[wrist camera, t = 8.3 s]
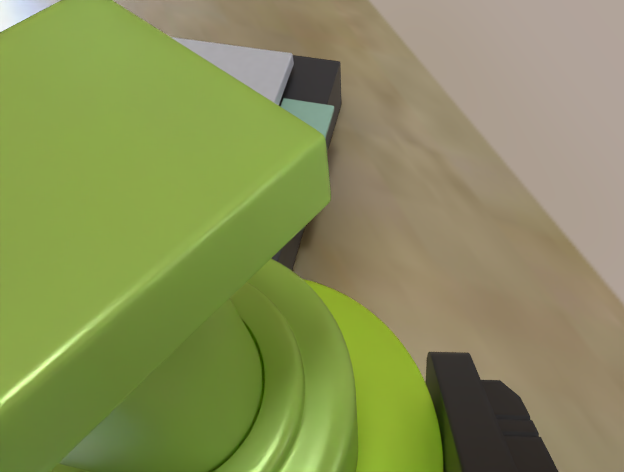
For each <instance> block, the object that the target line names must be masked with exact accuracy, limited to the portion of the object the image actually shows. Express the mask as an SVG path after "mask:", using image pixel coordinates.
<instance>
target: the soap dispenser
mask: <svg viewBox="0 0 624 472" xmlns="http://www.w3.org/2000/svg"><path fill="white" fill-rule="evenodd" d="M330 200H331V191H330V180H329V169H328V158H327V148H326V140H325V137H324V135H323V134H321V133H320V132H319V131H317V130H316V129H315V128H313V127H311V126H310V125H308V124H307V123H305V122H304V121H302V120H301V119H299V118H298V117H296V116H294V115H293V114H291V113H290V112H288V111H286V110H285V109H283V108H282V107H280V106H279V105H277V104H275V103H274V102H272V101H271V100H269V99H267V98H266V97H264V96H263V95H261V94H260V93H258V92H256V91H255V90H253V89H252V88H250V87H248V86H247V85H245V84H244V83H242V82H241V81H239V80H237V79H236V78H234V77H233V76H231V75H229V74H228V73H226V72H225V71H223V70H222V69H220V68H218V67H217V66H215V65H214V64H212V63H210V62H209V61H207V60H206V59H204V58H203V57H201V56H199V55H198V54H196V53H195V52H193V51H191V50H190V49H188V48H187V47H185V46H184V45H182V44H180V43H179V42H177V41H176V40H174V39H172V38H171V37H169V36H168V35H166V34H165V33H163V32H161V31H160V30H158V29H157V28H155V27H153V26H152V25H150V24H149V23H147V22H146V21H144V20H142V19H141V18H139V17H138V16H136V15H134V14H133V13H131V12H130V11H128V10H127V9H125V8H123V7H122V6H120V5H119V4H117V3H116V2H114V1H112V0H61V1H59V2H57V3H55V4H53V5H51V6H49V7H48V8H46V9H44V10H42V11H40V12H38V13H36V14H34V15H32V16H30V17H29V18H27V19H25V20H23V21H21V22H19V23H17V24H15V25H13V26H11V27H10V28H8V29H6V30H4V31H2V32H0V472H443V450H442V441H441V434H440V429H439V424H438V419H437V415H436V412H435V408H434V405H433V402H432V399H431V396H430V393H429V391H428V388H427V386H426V384H425V381H424V379H423V377H422V375H421V373H420V371H419V369H418V367H417V366H416V364H415V362H414V361H413V359H412V357H411V356H410V354H409V353H408V351H407V350H406V348H405V347H404V346H403V344H402V343H401V342H400V341H399V339H398V338H397V337H396V336H395V335H394V333H393V332H392V331H391V330H390V329H389V328H388V327H387V326H386V325H385V324H384V323H383V322H382V321H381V320H380V319H379V318H377V317H376V316H375V315H374V314H373V313H371V312H370V311H369V310H368V309H366V308H365V307H363V306H362V305H361V304H359V303H358V302H356V301H355V300H353V299H351V298H349V297H348V296H346V295H344V294H342V293H340V292H338V291H336V290H334V289H331V288H329V287H327V286H324V285H321V284H318V283H315V282H312V281H308V280H304V279H302V278H300V277H299V276H298V275H297V274H295V273H294V272H293V271H291V270H290V269H289V268H287V267H286V266H284V265H282V264H281V263H279V262H277V261H275V260H273V259H271V258H272V257H273V256H274V255H275V254H276V253H277V252H278V251H279V250H280V249H281V248H283V247H284V246H285V245H286V244H287V243H288V242H289V241H290V240H291V239H292V238H293V237H294V236H295V235H296V234H297V233H298V232H299V231H300V230H301V229H302V228H304V227H305V226H306V225H307V224H308V223H309V222H310V221H311V220H312V219H313V218H314V217H315V216H316V215H317V214H318V213H319V212H320V211H321V210H322V209H323V208H324V207H325V206H326V205H327V204H328V203H329V202H330Z"/></svg>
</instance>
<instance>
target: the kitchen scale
mask: <svg viewBox="0 0 624 472" xmlns="http://www.w3.org/2000/svg"><path fill="white" fill-rule="evenodd" d="M171 38H172V39H174V40H176V41H177V42H179V43H180V44H182V45H184V46H185V47H187V48H188V49H190V50H191V51H193V52H195V53H196V54H198V55H199V56H201V57H203V58H204V59H206V60H207V61H209V62H210V63H212V64H214V65H215V66H217V67H218V68H220V69H222V70H223V71H225V72H226V73H228V74H229V75H231V76H233V77H234V78H236V79H237V80H239V81H241V82H242V83H244V84H245V85H247V86H248V87H250V88H252V89H253V90H255V91H256V92H258V93H260V94H261V95H263V96H264V97H266V98H267V99H269V100H271V101H272V102H274V103H275V104H277V105H279V106H280V107H282V108H283V109H285V110H286V111H288V112H290V113H291V114H293V115H294V116H296V117H298V118H299V119H301V120H302V121H304V122H305V123H307V124H308V125H310V126H311V127H313V128H315V129H316V130H317V131H319V132H320V133H321V134H323V135H324V137H325V140H326V148H327V151H328V147H329V144H330V141H331V137H332V134H333V131H334V127H335V124H336V120H337V117H338V114H339V110H340V107H341V71H340V62H339V61H332V60H325V59H317V58H310V57H302V56H295V55H293V54H292V53H286V52H279V51H271V50H264V49H256V48H249V47H242V46H234V45H227V44H219V43H212V42H204V41H197V40H190V39H182V38H175V37H171ZM304 228H305V227H304ZM304 228H302V229H301V230H300V231H299V232H298V233H297V234H296V235H295V236H294V237H293V238H292V239H291V240H290V241H289V242H288V243H287V244H286V245H285V246H284V247H283V248H281V249H280V250H279V251H278V252H277V253H276V254H275V255H274V256H273V257H272V258H271V259H273V260H275V261H277V262H279V263H281V264H282V265H284V266H286V267H287V268H289V269H290V270H291V271H292V268H293V265H294V262H295V258H296V255H297V251H298V248H299V245H300V241H301V238H302V235H303V231H304Z"/></svg>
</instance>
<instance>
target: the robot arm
mask: <svg viewBox="0 0 624 472" xmlns="http://www.w3.org/2000/svg"><path fill="white" fill-rule="evenodd" d="M426 386H427V388H428V391H429V393H430V396H431V399H432V402H433V405H434V408H435V412H436V415H437V419H438V424H439V429H440V434H441V441H442V450H443V472H558V470H557V468H556V466H555V464H554V462H553V460H552V458H551V456H550V454H549V452H548V450H547V448H546V447H545V445H544V443H543V441H542V439H541V437H539V435H538V431H537V429H536V427H535V425H534V423H533V421H532V420H530V415H529V413H528V411H527V409H526V408H525V406H524V404H523V402H522V400H521V398H520V397H519V396H518V395H517V394H516V393H515V392H513V391H512V390H511V389H510V388H509V387H507V386H506V385H505V384H504V383H502V382H501V381H500V380H480V377H479V375H478V373H477V370H476V368H475V365H474V363H473V360H472V358H471V356H470V354H469V353H456V352H429V353H428V356H427V365H426Z"/></svg>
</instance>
